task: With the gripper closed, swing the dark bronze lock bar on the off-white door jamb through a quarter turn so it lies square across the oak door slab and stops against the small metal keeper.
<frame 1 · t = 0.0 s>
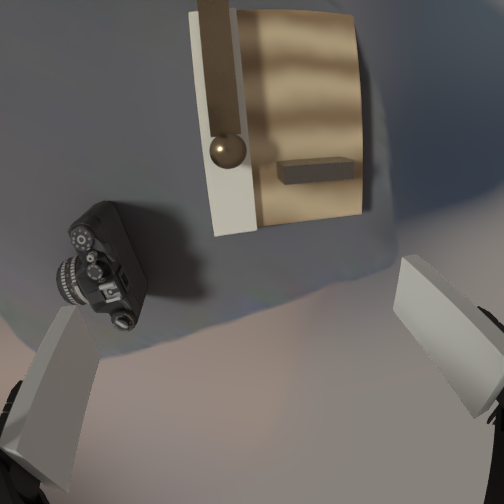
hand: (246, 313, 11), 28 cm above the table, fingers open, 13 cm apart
door slab: (299, 113, 35), on the table
camera: (103, 254, 39), on the table
jamb: (221, 119, 34), on the table
keeper: (302, 162, 37), resting on door slab
swing bar: (219, 79, 27), point 6 cm above the table, hinge at 90.0°
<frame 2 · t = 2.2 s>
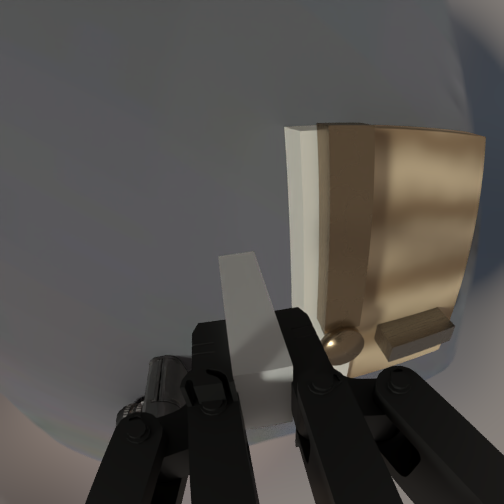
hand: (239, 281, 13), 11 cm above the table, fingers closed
door slab: (403, 257, 29), on the table
camera: (163, 396, 33), on the table
jamb: (317, 272, 28), on the table
keeper: (394, 306, 31), resting on door slab
swing bar: (345, 260, 21), point 6 cm above the table, hinge at 90.0°
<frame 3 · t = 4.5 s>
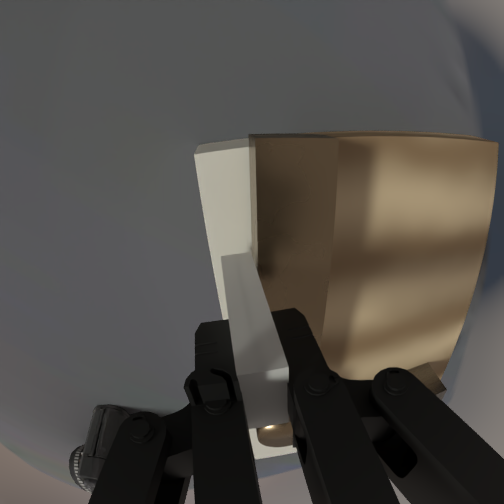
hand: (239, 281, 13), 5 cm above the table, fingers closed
door slab: (384, 304, 22), on the table
camera: (118, 439, 27), on the table
jamb: (265, 328, 22), on the table
keeper: (373, 359, 25), resting on door slab
swing bar: (288, 335, 15), point 6 cm above the table, hinge at 85.5°, touching gripper
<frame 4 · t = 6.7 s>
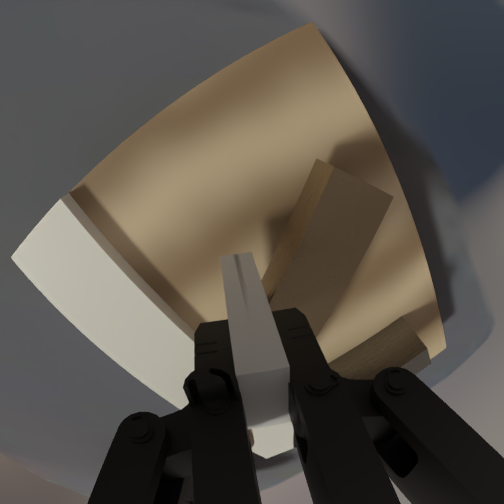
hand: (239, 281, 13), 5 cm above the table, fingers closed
door slab: (307, 274, 20), on the table
jamb: (193, 343, 21), on the table
keeper: (343, 329, 23), resting on door slab
swing bar: (270, 351, 15), point 6 cm above the table, hinge at 34.7°, touching gripper
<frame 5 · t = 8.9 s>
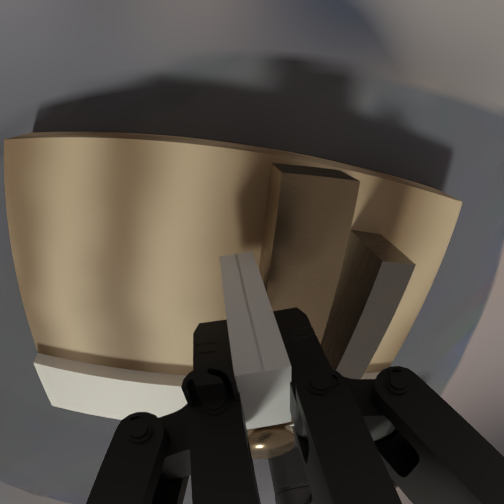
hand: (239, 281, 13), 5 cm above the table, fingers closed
door slab: (232, 261, 19), on the table
camera: (319, 450, 33), on the table
jamb: (215, 369, 23), on the table
keeper: (327, 270, 20), resting on door slab
swing bar: (283, 357, 15), point 6 cm above the table, hinge at 4.5°, touching gripper
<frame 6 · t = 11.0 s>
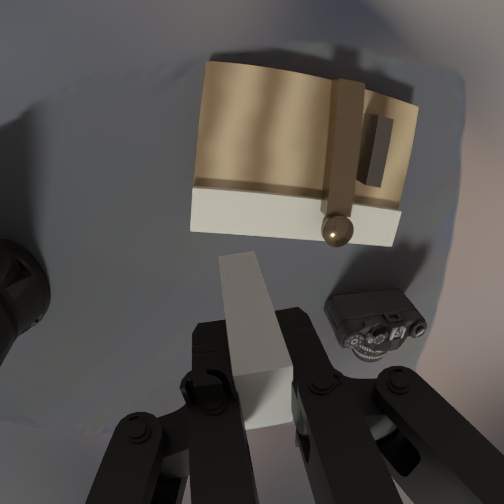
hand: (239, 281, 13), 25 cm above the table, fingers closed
door slab: (309, 135, 35), on the table
camera: (360, 314, 49), on the table
jamb: (297, 208, 39), on the table
keeper: (355, 144, 36), resting on door slab
swing bar: (343, 163, 31), point 6 cm above the table, hinge at 4.5°
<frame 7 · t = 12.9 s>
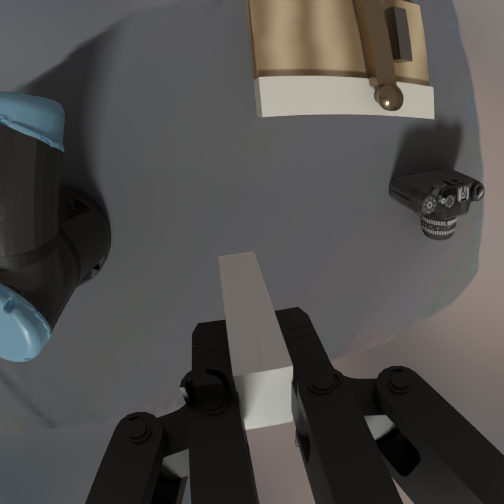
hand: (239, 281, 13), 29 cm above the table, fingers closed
door slab: (341, 34, 33), on the table
camera: (421, 197, 46), on the table
jamb: (347, 96, 38), on the table
keeper: (379, 39, 34), resting on door slab
swing bar: (378, 43, 29), point 6 cm above the table, hinge at 4.5°
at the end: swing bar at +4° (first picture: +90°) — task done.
